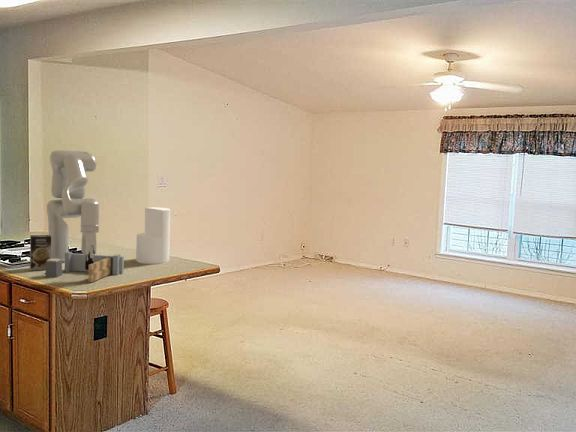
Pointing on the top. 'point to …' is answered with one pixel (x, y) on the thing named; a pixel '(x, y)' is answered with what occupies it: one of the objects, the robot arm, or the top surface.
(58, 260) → the grey rectangular block
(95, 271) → the door
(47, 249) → the coffee box
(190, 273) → the top surface
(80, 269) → the wall
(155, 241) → the stepped white column
